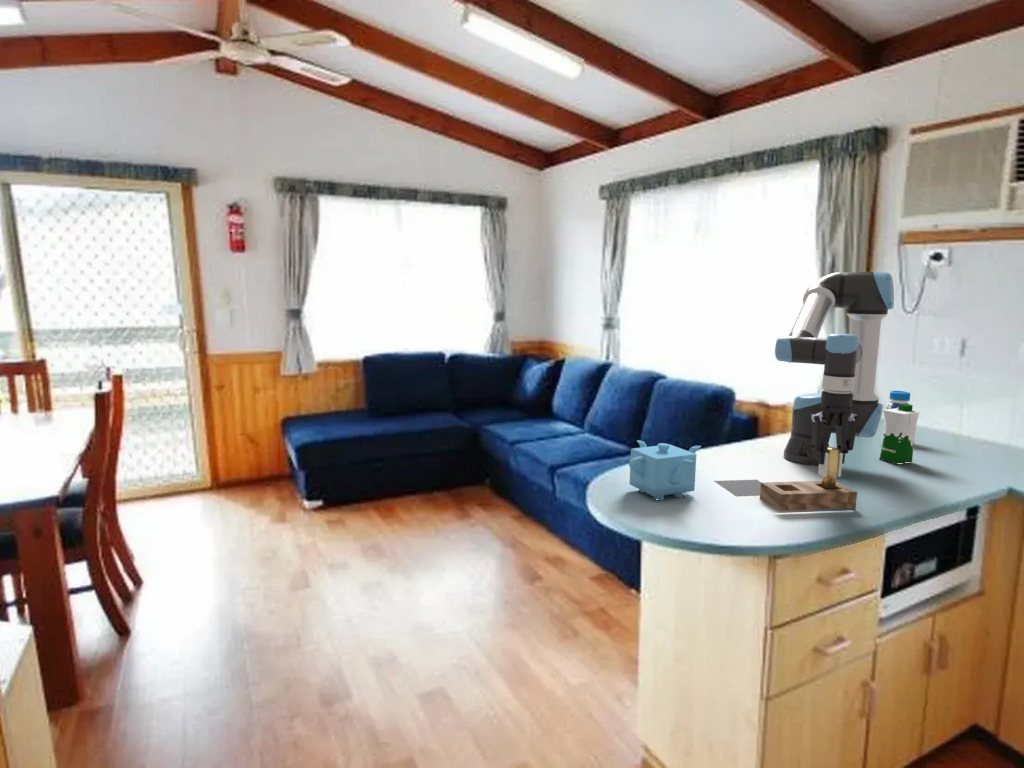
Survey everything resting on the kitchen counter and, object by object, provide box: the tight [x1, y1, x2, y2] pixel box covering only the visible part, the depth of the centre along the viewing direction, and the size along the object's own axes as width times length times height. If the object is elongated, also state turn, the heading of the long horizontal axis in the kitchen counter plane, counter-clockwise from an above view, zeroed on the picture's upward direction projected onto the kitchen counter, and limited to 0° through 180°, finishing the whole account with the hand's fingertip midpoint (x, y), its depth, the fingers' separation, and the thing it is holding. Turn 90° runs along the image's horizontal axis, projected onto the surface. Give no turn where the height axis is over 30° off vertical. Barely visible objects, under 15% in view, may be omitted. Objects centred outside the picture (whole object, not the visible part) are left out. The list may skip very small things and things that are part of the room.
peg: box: [821, 446, 839, 490], centre depth 167 cm, size 4×4×12 cm
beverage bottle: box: [885, 390, 911, 410], centre depth 239 cm, size 8×8×20 cm
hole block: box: [759, 480, 858, 512], centre depth 167 cm, size 22×10×5 cm, turn 97°
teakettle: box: [628, 439, 702, 501], centre depth 174 cm, size 19×19×15 cm
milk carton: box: [879, 403, 920, 464], centre depth 210 cm, size 9×9×20 cm
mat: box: [714, 479, 763, 497], centre depth 180 cm, size 14×14×1 cm
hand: (829, 475), depth 167 cm, fingers closed on peg, 3 cm apart
